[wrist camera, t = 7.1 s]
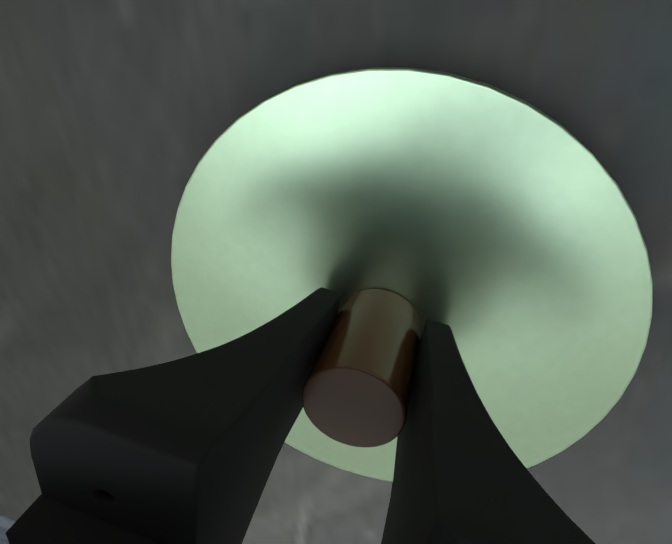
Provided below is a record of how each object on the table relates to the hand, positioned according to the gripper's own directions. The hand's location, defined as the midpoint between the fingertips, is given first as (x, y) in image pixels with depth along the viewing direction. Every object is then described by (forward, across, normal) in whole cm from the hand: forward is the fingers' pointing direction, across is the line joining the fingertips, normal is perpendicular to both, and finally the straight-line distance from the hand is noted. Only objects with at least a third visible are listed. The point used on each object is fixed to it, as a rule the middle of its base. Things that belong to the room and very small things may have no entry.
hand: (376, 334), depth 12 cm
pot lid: (+1, 0, 0) cm, 1 cm away
